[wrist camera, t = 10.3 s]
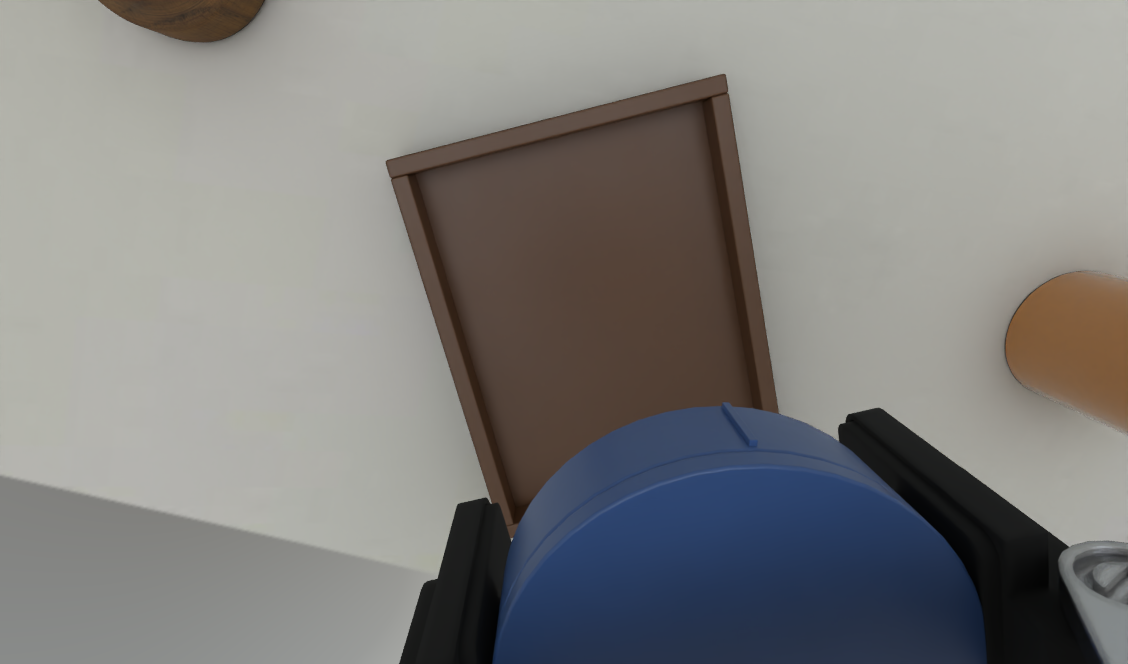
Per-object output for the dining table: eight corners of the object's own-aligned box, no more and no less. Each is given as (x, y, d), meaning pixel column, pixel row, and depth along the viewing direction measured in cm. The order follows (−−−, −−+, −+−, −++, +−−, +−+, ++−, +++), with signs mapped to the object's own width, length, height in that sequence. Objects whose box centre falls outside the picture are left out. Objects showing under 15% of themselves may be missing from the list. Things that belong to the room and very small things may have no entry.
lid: (503, 395, 9) (488, 454, 7) (941, 403, 9) (1043, 463, 7) (503, 750, 10) (491, 873, 8) (872, 753, 10) (939, 877, 9)
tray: (773, 455, 29) (789, 476, 27) (506, 516, 30) (503, 540, 28) (712, 80, 24) (726, 73, 22) (397, 161, 25) (384, 160, 23)
